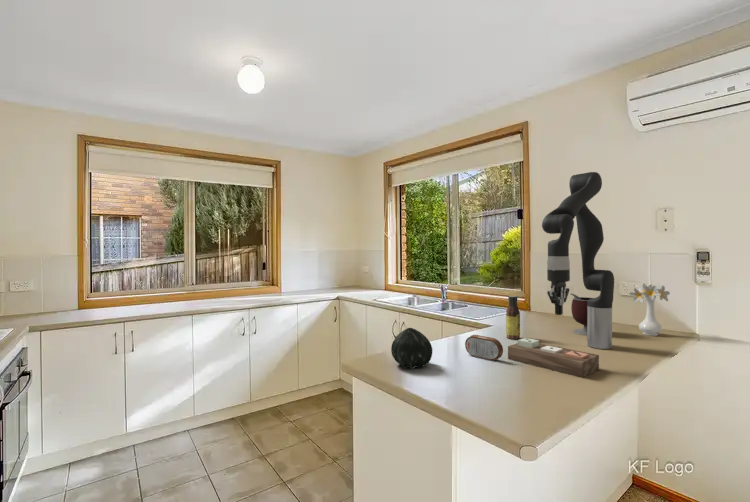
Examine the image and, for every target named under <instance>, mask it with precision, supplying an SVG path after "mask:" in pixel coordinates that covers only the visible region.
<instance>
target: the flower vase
mask: <svg viewBox="0 0 750 502" xmlns="http://www.w3.org/2000/svg"><path fill="white" fill-rule="evenodd" d="M657 284H658V287H657V285H653V284H649V285H647V284H646V283H642V285H641V286H642V287H639V288H636V287H635V288H634V289H633V291H634V292H632V291H630V292H629V295H630V296H632V297H633V302H634V303H638V301H639V302H640V303H642V304H644V298H645V301H646V311H645V314H646V315H645V317H644V319H643V321H640V323H639V325H638V329H639V330H640V331H641V332H642V334H643V335H645V336H650V335H651V337H652V336H653V337H654V336H655V337H656V336H657V337H658V335H659V333H662V331H663V326H662V325H661V324H660V322H658V320H657V318H656V315H655V301H656V298H657V296H659V300H660V301H662V300H665V301H666V302H669V297H668V296H670V294H671V293H670V291H668V290H666V287H665V285H660V283H657ZM643 297H644V298H643Z"/></svg>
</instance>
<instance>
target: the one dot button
mask: <svg viewBox="0 0 750 502" xmlns="http://www.w3.org/2000/svg"><path fill="white" fill-rule="evenodd" d="M552 346H553V345H552ZM552 346H545V347H542V348H540V350H541V351H546V352H550V353H555V354H556V353H559V352H562V351H563V349H562V348H563V347H562V348H557V347H558V346H557V347H552Z"/></svg>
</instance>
